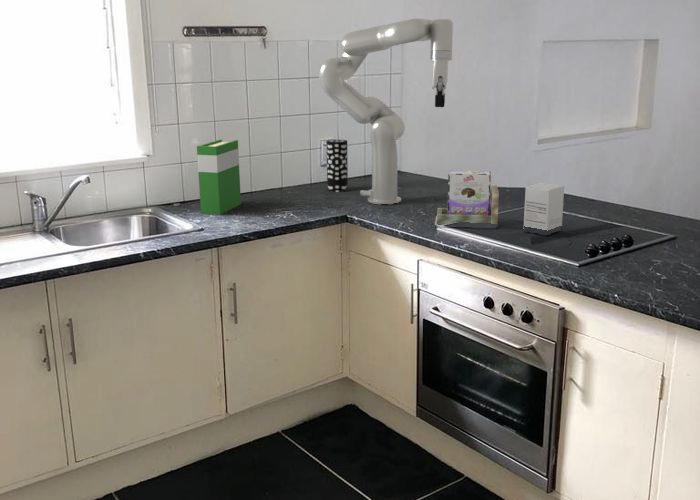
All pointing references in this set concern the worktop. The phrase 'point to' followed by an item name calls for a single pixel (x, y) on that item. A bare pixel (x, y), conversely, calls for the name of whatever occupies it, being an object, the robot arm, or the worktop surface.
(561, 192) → the supplement box
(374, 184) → the robot arm
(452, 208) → the candy box
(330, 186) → the white-spotted black cylinder
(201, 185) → the hardback book
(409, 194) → the worktop surface
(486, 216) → the khaki l-shaped bracket
